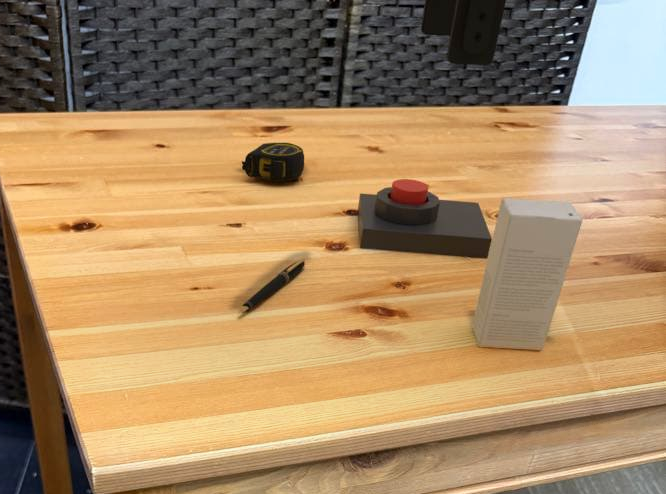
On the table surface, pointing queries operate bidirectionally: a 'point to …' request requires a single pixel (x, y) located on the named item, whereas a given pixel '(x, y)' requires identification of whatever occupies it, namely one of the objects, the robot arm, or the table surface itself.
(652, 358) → the table surface
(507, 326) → the cosmetic box
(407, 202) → the button
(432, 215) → the console
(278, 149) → the tape measure
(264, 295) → the fountain pen
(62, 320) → the table surface
